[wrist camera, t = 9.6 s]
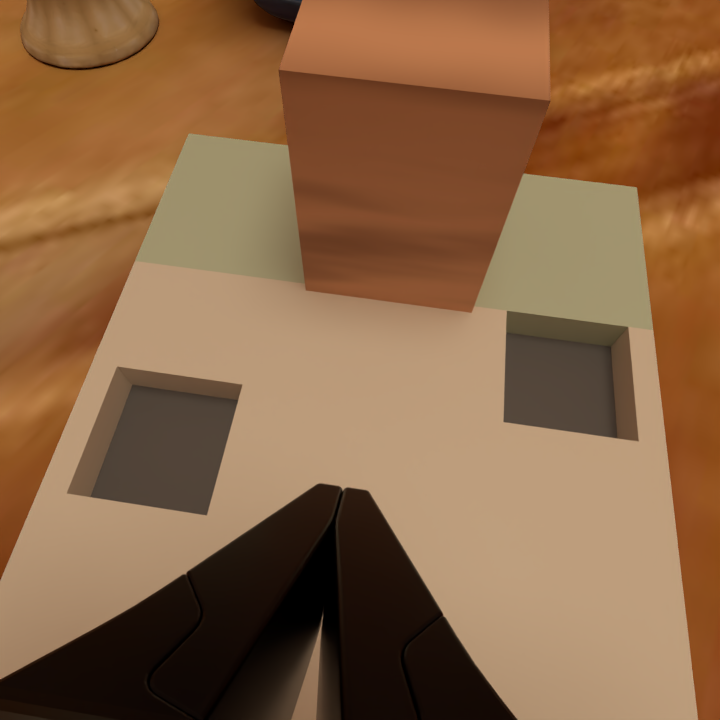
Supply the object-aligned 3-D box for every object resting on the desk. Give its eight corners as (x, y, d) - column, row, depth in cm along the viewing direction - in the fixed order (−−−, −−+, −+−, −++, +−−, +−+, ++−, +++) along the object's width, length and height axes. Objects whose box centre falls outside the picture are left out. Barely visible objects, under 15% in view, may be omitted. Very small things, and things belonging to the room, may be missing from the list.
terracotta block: (471, 312, 23) (550, 100, 14) (305, 290, 23) (278, 69, 14) (479, 188, 26) (547, -48, 17) (333, 170, 26) (326, -70, 17)
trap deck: (675, 844, 16) (715, 869, 15) (-21, 718, 18) (-62, 726, 16) (630, 353, 24) (653, 330, 22) (150, 287, 25) (135, 260, 24)
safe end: (630, 353, 24) (653, 330, 22) (150, 287, 25) (135, 260, 24) (618, 216, 28) (636, 187, 26) (198, 164, 29) (188, 133, 27)
